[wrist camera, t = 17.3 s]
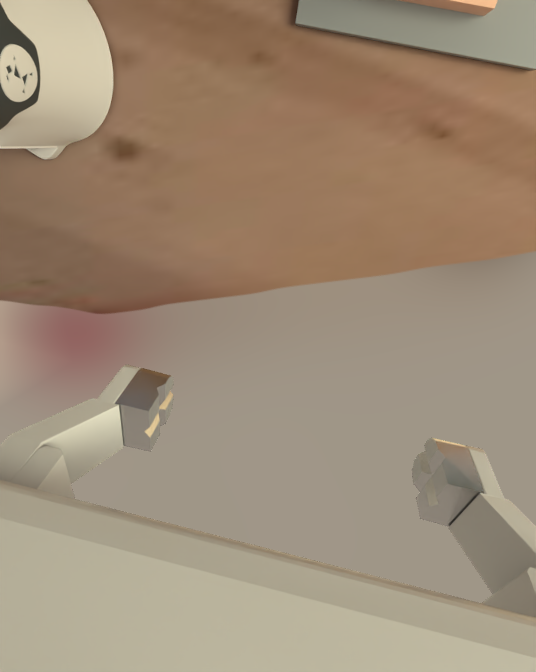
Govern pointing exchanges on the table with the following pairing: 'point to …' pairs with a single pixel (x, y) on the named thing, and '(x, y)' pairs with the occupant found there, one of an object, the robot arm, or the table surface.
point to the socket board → (435, 26)
